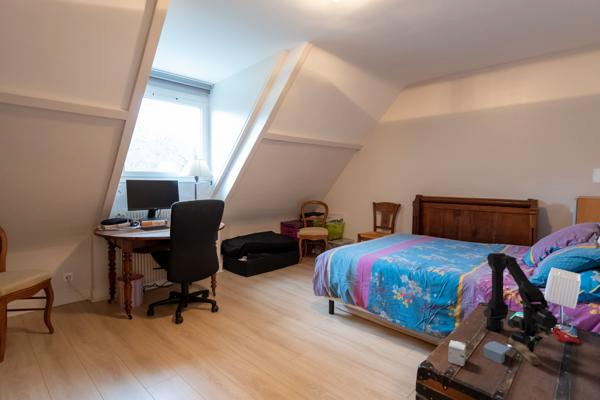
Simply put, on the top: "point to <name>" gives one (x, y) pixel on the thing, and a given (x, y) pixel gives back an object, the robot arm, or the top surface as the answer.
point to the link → (525, 352)
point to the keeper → (496, 351)
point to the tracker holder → (564, 336)
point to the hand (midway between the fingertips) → (531, 352)
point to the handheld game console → (517, 315)
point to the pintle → (509, 345)
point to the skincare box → (457, 353)
